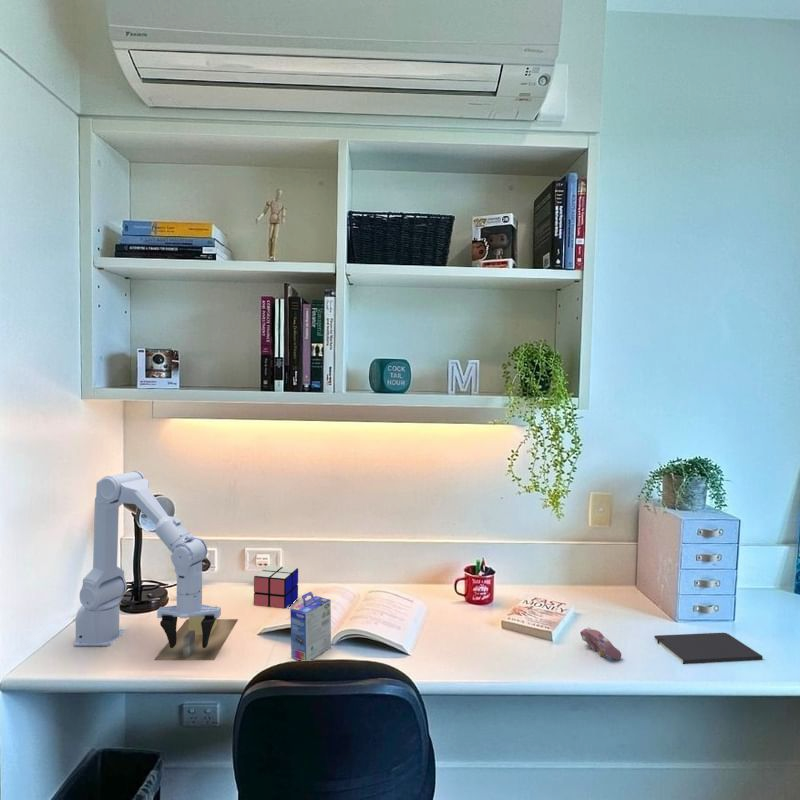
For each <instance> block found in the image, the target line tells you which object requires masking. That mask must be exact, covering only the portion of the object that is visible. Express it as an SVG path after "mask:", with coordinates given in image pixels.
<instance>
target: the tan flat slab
mask: <svg viewBox="0 0 800 800" xmlns="http://www.w3.org/2000/svg"><path fill="white" fill-rule="evenodd" d="M238 621H239V619H238V618H233V619H231V618H230V619H229V618H228V619H227V618H217V626H216V627H215V629H214V630H213V632H212V633H211V635H210V636H209V641H208V645H207V647H206V648H203V647H202V639H203V635H195V631H189V618H186V620H185V621H184V622H183V623H182V625H181V626H180V627H179V628H178V629H177V630H176V637H177V640H176V645H175V646H174V647H173V648H170V644H169V641H168V642H167V643H166V645H164V647H163V648H162V649H161V651H160V652H159V653H158V654H157V655H156V657H155V658H154V659H153V661H215V660H216V657H217V656H218V655H219V652H221V649H222V648H223V646H224V644H225V643H226V641H227V639H228V637H229V635H230V634H231V633H232V630H233V629H234V627H235V626H236V624H237V622H238Z"/></svg>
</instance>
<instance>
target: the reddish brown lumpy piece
mask: <svg viewBox="0 0 800 800" xmlns="http://www.w3.org/2000/svg"><path fill="white" fill-rule="evenodd" d="M580 636H581V640H582V641H583V642H585V643H587V646H589V648H590V649H591V650H592V651H594V652H597V653H598V655H600V656H601V657H602V658H605V657H606V656H607V657H609V658H611V659H613V660H616V661H620V660H621V658H622V653H621V651H620V650H619V649H618V648H616V647H615V646H614V645H613V644H612V642H611V641H610V640H609V639H608V638H607V637H606V636H604V635H603V633H602V632H600V631H599V630H597V629H592V628H590V627H589V626H588V627H587V628H584V629H582V630H581V631H580Z"/></svg>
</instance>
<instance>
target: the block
mask: <svg viewBox="0 0 800 800" xmlns="http://www.w3.org/2000/svg"><path fill="white" fill-rule="evenodd" d="M206 605H207V606H213V607H218V605H217V604H206ZM204 618H205V617H189V618H188V619H189V631H195V635H203V634H202V626H201V622H202V620H203V619H204ZM217 619H218V618H216V620H215V622H214V624H213V627H212V629H211V632H210V635H211V633H212V632H213V630H214V629H215V627H216V626H217Z"/></svg>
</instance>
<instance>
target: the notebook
mask: <svg viewBox="0 0 800 800" xmlns="http://www.w3.org/2000/svg"><path fill="white" fill-rule="evenodd" d="M653 637H654V640H655V642H656V643H657V644H658V645H660V646H661V647H662V648H663V649H665V650H666V651H667V652H668V653H670V654H671V655H672V656H673V657H675V658H676V659H677V660H678V661H680V662H681V663H682V665H690V664H692V665H693V664H707V663H710V664H711V663H726V662H727V663H729V662H746V661H747V662H751V661H763V655H762V654H760V653H758V652H757V651H755V650H754V649H753V648H751V647H749V646H748V645H746V644H744V643H743V642H741V641H740V640H739V639H737V638H736V637H734V636H732V635H730V634H729V633H727V632H708V633H707V632H704V633H684V634H664V635H663V634H660V635H654V636H653Z"/></svg>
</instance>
